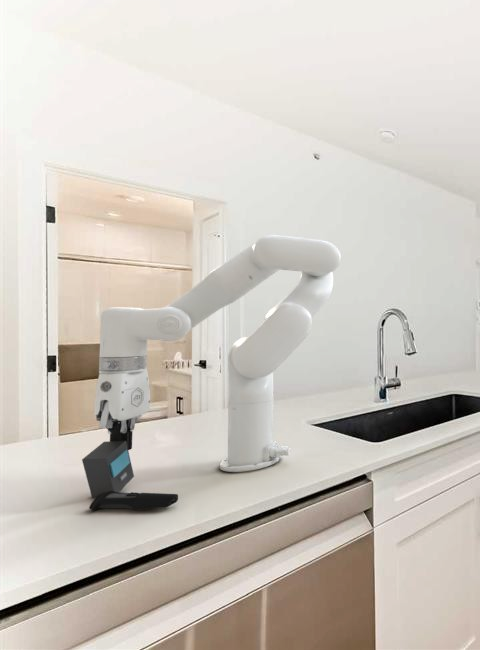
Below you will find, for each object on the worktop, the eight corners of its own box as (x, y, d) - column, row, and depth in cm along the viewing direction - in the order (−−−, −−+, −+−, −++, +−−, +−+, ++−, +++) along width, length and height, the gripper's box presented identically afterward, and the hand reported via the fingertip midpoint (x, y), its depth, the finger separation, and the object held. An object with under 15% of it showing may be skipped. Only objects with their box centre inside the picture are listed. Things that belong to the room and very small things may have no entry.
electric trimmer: (166, 515, 78) (167, 497, 78) (86, 512, 79) (87, 494, 79) (183, 506, 82) (184, 489, 82) (106, 503, 83) (107, 487, 83)
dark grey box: (135, 476, 92) (127, 440, 89) (116, 496, 86) (107, 458, 84) (112, 477, 91) (103, 441, 88) (91, 497, 85) (81, 459, 83)
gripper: (117, 368, 85) (114, 461, 84) (165, 361, 99) (162, 440, 99) (74, 369, 83) (70, 463, 83) (128, 361, 98) (125, 441, 98)
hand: (120, 450), depth 91 cm, fingers closed
